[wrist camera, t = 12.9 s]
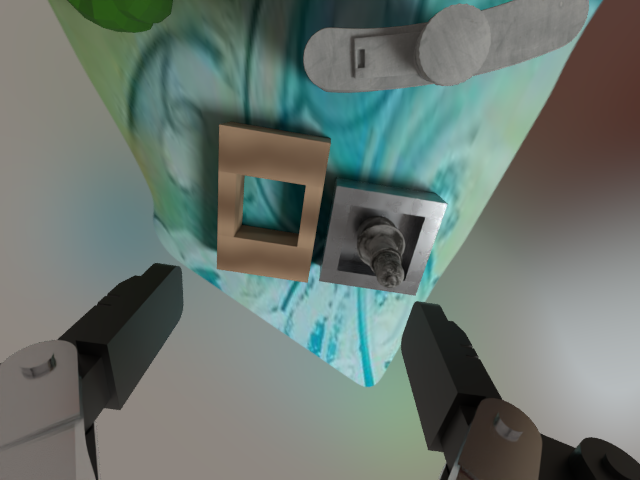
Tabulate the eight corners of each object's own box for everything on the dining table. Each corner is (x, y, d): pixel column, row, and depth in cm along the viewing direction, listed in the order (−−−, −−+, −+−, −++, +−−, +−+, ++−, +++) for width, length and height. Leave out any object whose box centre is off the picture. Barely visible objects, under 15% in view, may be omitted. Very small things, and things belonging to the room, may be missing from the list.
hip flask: (464, 34, 32) (638, -45, 14) (463, 77, 34) (616, 57, 16) (313, 62, 34) (294, 23, 15) (319, 102, 35) (308, 110, 17)
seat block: (336, 177, 39) (336, 185, 35) (436, 193, 39) (447, 203, 36) (320, 265, 44) (319, 281, 41) (408, 279, 45) (415, 295, 41)
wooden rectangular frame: (230, 121, 36) (219, 124, 33) (330, 138, 37) (330, 143, 33) (226, 254, 44) (216, 269, 40) (309, 267, 44) (307, 282, 41)
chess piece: (346, 244, 42) (352, 296, 31) (367, 206, 39) (382, 249, 28) (385, 260, 42) (403, 317, 32) (407, 225, 40) (436, 273, 29)
